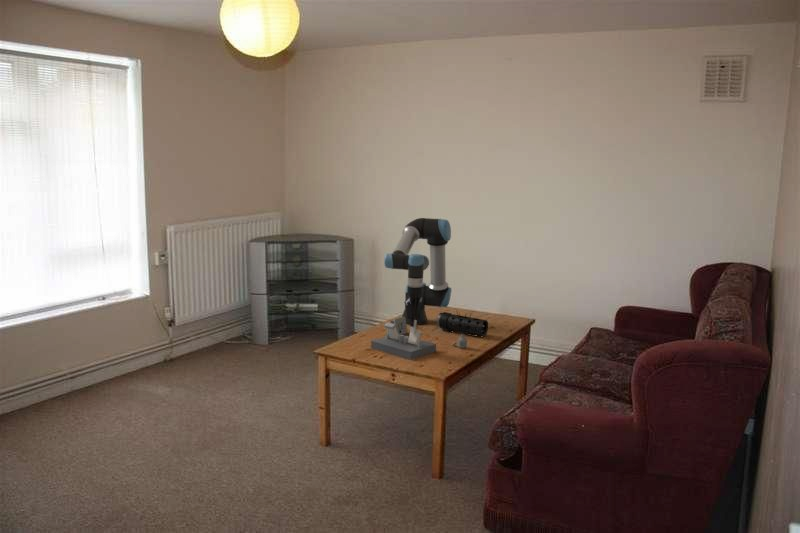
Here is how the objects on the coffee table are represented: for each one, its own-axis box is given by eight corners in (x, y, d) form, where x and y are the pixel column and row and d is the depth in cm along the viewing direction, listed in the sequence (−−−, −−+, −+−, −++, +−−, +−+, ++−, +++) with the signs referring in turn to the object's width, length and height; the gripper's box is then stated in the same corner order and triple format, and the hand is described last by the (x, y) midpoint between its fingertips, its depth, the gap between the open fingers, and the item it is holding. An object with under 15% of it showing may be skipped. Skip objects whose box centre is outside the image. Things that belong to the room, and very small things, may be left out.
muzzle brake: (480, 340, 360) (481, 321, 359) (435, 331, 375) (436, 313, 373) (488, 336, 368) (489, 318, 366) (443, 327, 383) (444, 310, 381)
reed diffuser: (471, 348, 344) (474, 310, 340) (466, 351, 338) (468, 313, 334) (454, 344, 349) (456, 307, 345) (448, 347, 343) (450, 310, 340)
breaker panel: (396, 340, 352) (397, 327, 351) (435, 351, 336) (436, 337, 335) (370, 348, 337) (371, 334, 336) (410, 360, 321) (411, 345, 320)
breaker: (392, 336, 343) (386, 322, 338) (401, 338, 339) (395, 324, 334) (389, 339, 341) (383, 325, 336) (398, 341, 337) (392, 327, 332)
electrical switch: (397, 336, 361) (396, 319, 360) (390, 335, 364) (389, 318, 363) (408, 333, 368) (407, 316, 367) (400, 332, 371) (400, 316, 370)
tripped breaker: (409, 343, 335) (413, 324, 335) (418, 345, 331) (423, 326, 332) (406, 342, 333) (410, 324, 334) (415, 345, 329) (420, 326, 330)
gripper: (412, 288, 320) (410, 336, 324) (429, 285, 330) (427, 331, 333) (400, 286, 325) (398, 333, 329) (417, 283, 334) (415, 328, 338)
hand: (413, 332), depth 331 cm, fingers closed
